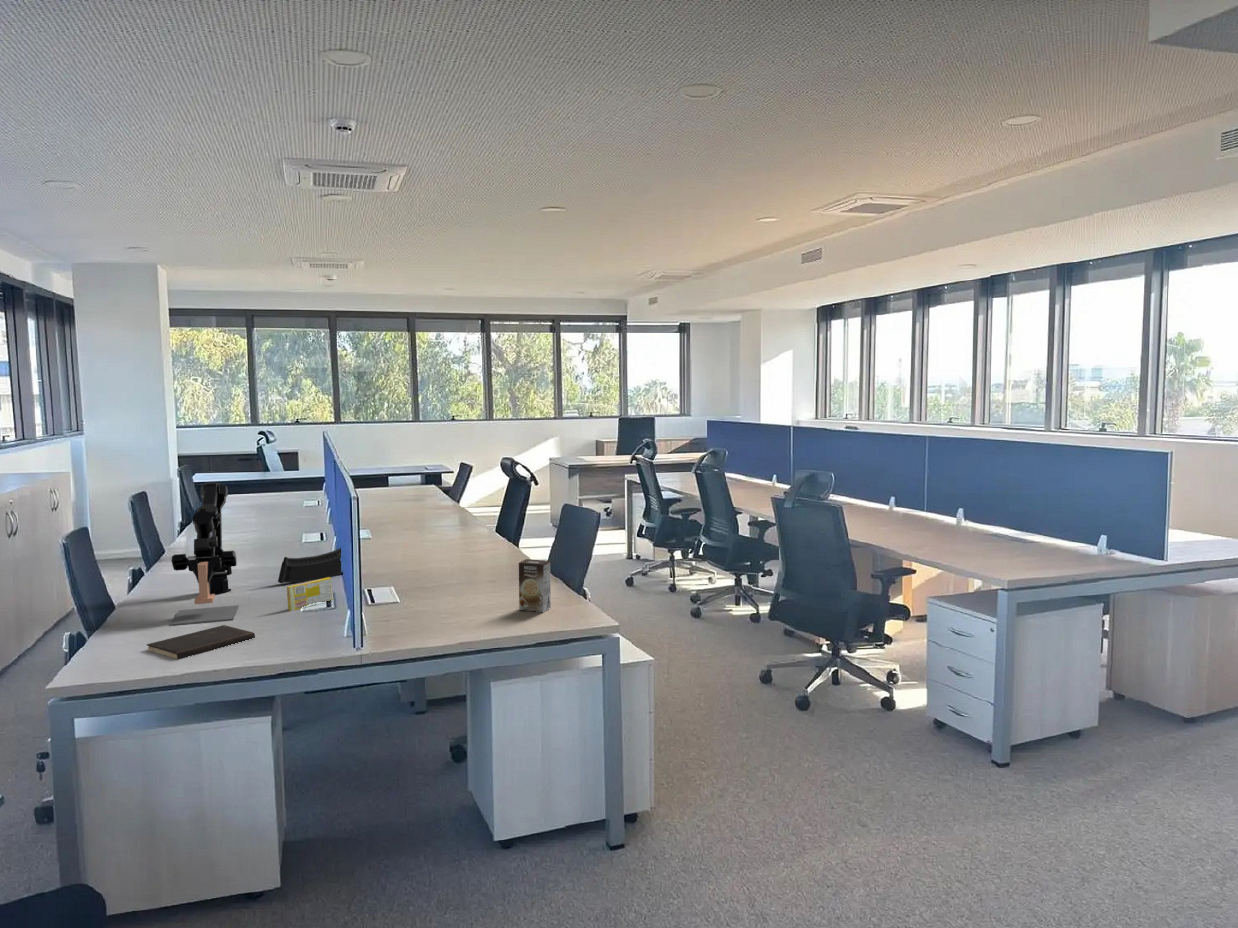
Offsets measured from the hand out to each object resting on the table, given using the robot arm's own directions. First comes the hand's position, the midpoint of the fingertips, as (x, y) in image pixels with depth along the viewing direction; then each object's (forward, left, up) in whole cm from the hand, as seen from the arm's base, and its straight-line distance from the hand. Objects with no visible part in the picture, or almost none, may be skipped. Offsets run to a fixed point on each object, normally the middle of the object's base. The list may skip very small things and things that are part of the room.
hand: (203, 582), depth 270 cm
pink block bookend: (-1, +1, -7) cm, 7 cm away
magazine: (-4, +57, -12) cm, 59 cm away
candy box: (+23, +23, -12) cm, 34 cm away
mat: (-1, +1, -11) cm, 11 cm away
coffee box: (+98, +42, -12) cm, 107 cm away
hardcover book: (+23, -23, -12) cm, 35 cm away
